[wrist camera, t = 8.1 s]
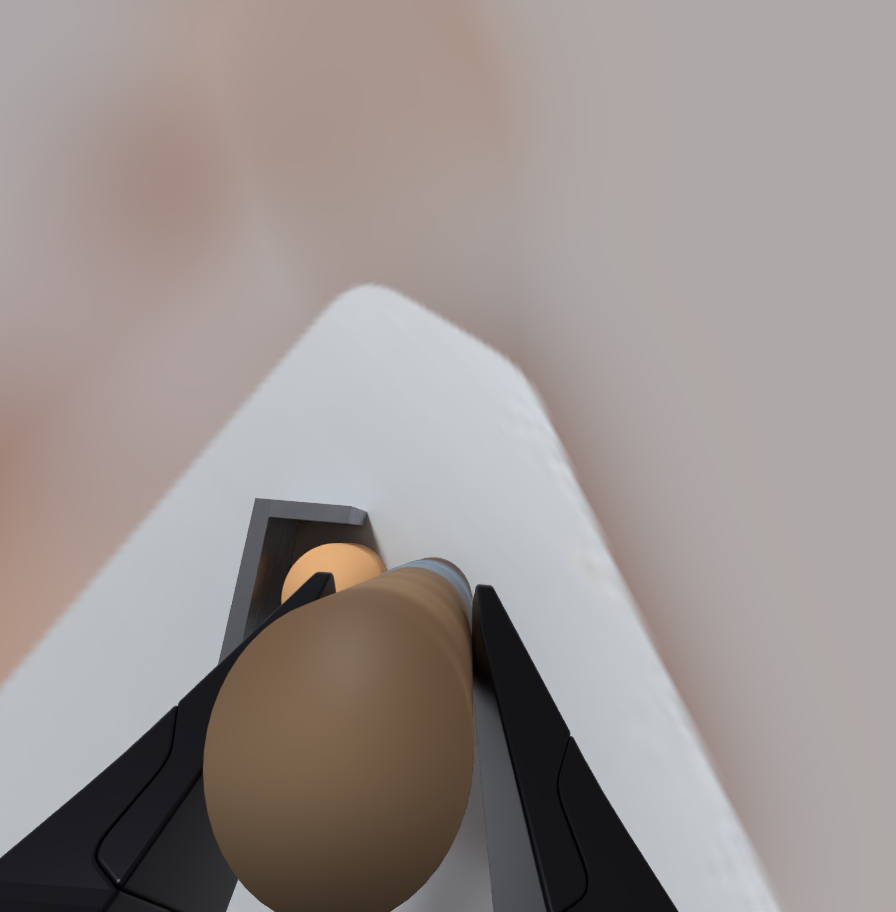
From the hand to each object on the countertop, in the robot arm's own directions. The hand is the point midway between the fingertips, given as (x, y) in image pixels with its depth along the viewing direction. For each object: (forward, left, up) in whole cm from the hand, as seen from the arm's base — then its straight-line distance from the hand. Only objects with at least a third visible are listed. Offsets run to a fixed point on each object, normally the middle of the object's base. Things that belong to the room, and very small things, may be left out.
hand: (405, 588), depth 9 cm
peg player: (-1, -1, -7) cm, 7 cm away
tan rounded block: (-1, +3, -8) cm, 9 cm away
